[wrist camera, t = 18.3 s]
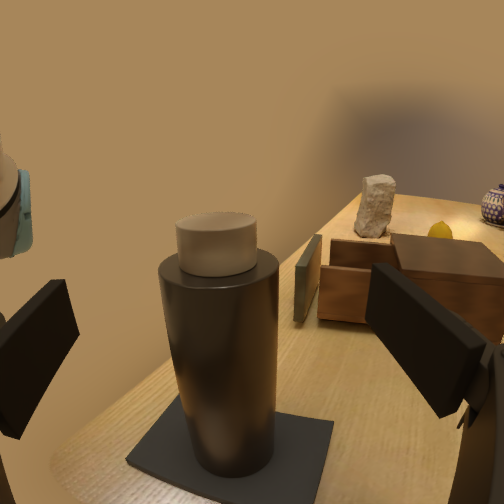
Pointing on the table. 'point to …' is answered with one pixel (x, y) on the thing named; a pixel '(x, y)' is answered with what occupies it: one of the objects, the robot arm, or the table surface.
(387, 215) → the decorative stone
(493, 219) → the teapot
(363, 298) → the drawer
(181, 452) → the trivet mat
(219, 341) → the thermos bottle
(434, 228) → the lemon
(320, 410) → the table surface
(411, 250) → the cabinet
